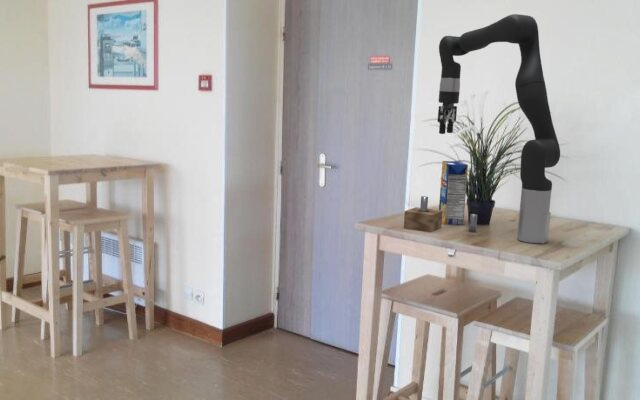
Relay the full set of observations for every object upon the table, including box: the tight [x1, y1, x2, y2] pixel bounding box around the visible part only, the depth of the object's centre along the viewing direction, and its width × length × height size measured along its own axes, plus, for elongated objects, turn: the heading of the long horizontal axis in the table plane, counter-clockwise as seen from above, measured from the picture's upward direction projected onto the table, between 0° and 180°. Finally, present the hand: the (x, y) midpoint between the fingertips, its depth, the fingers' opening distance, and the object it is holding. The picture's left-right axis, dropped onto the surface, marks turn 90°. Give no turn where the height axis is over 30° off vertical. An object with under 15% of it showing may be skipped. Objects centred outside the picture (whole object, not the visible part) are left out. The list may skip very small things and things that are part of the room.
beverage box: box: [438, 160, 469, 226], centre depth 228 cm, size 7×11×22 cm, turn 1°
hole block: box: [403, 206, 443, 233], centre depth 217 cm, size 10×10×6 cm
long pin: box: [419, 195, 429, 212], centre depth 217 cm, size 2×2×11 cm
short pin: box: [468, 213, 478, 233], centre depth 214 cm, size 2×2×6 cm
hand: (445, 133), depth 237 cm, fingers open, 8 cm apart
